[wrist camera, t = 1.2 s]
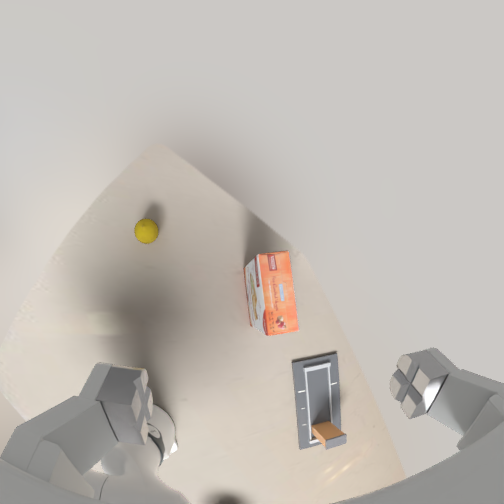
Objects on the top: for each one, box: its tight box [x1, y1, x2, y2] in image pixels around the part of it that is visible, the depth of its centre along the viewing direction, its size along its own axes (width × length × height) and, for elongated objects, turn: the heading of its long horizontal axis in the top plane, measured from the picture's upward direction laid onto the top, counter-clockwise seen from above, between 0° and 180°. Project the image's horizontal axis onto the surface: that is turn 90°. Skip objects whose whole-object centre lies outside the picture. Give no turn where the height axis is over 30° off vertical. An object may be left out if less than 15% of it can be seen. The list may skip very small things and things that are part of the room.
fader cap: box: [311, 421, 346, 449], centre depth 56 cm, size 3×5×10 cm, turn 96°
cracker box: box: [244, 251, 299, 336], centre depth 56 cm, size 14×6×21 cm, turn 7°
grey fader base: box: [292, 353, 341, 450], centre depth 62 cm, size 26×12×2 cm, turn 6°
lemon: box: [135, 219, 158, 244], centre depth 61 cm, size 6×6×8 cm
